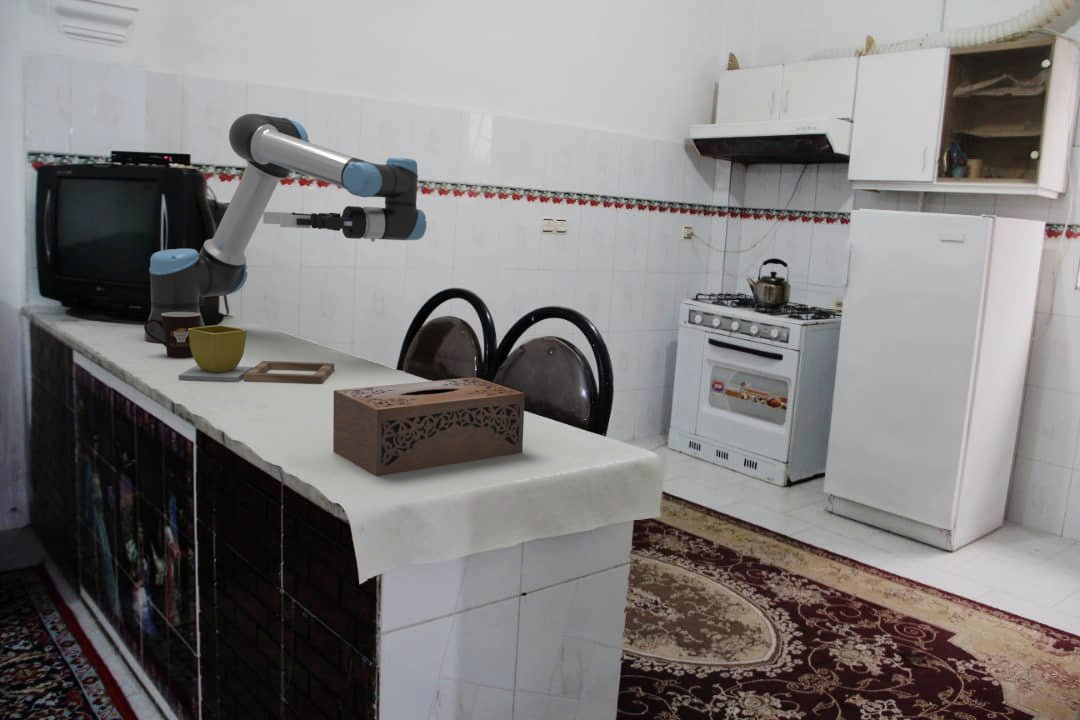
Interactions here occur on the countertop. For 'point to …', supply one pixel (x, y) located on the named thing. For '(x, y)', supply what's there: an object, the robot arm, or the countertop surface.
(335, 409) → the tissue box cover
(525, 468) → the countertop surface
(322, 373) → the board
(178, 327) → the coffee mug
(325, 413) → the countertop surface
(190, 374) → the mat
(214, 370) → the flower pot
